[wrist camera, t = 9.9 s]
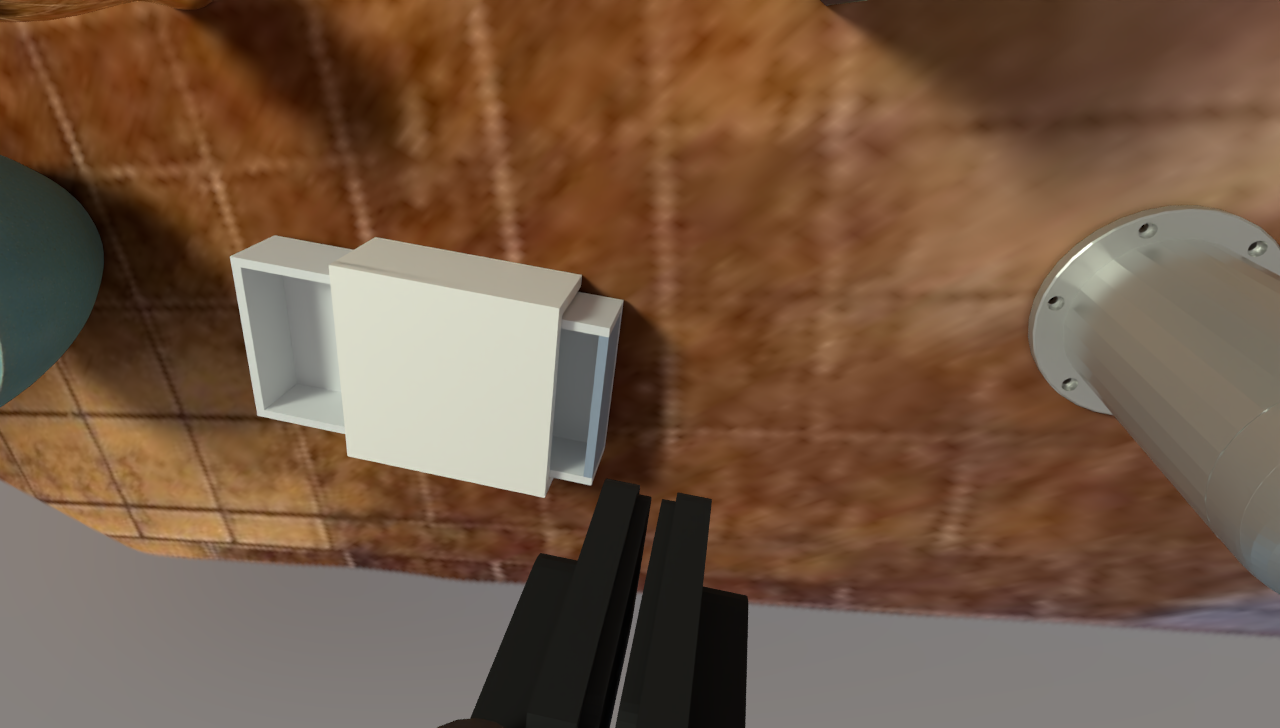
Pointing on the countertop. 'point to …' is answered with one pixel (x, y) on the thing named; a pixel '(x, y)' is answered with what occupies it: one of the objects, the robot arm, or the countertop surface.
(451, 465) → the sleeve
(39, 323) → the teal bowl
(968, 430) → the countertop surface
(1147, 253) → the robot arm
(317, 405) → the white sliding drawer box
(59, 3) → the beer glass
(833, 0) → the protein box
